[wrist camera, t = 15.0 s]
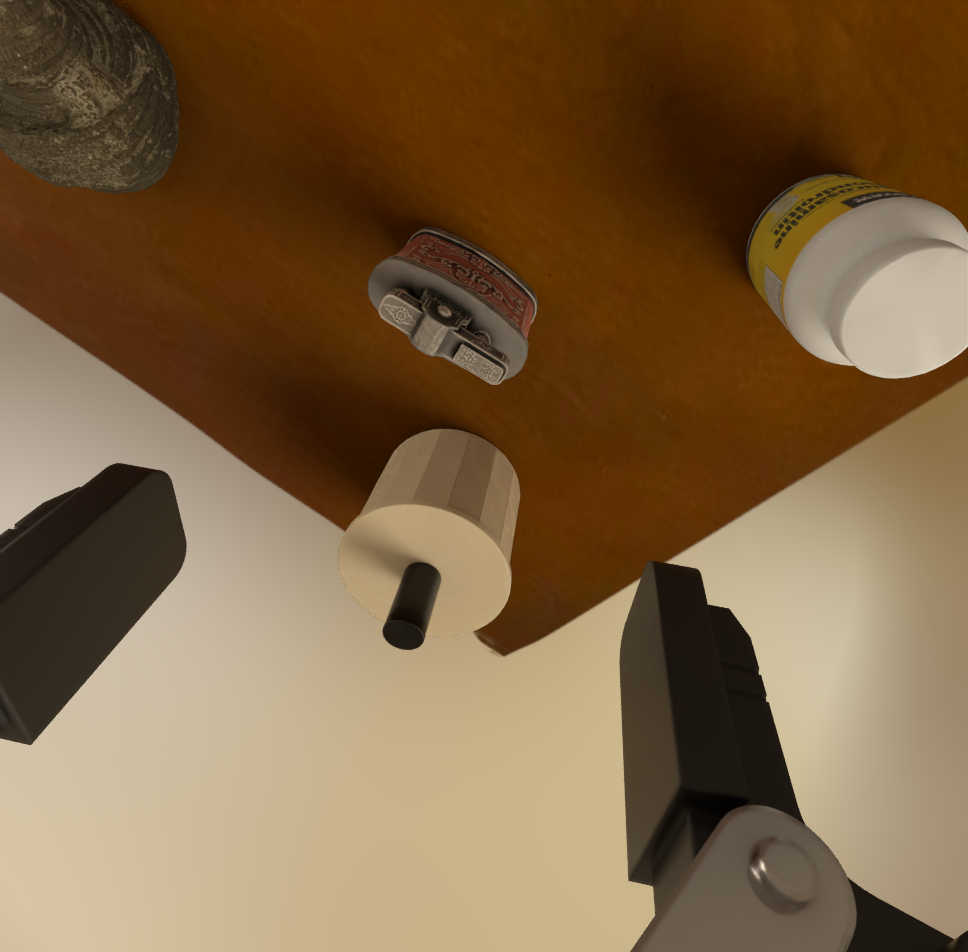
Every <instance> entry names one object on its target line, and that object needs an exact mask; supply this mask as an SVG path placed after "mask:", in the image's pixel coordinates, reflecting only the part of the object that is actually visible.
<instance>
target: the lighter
mask: <svg viewBox="0 0 968 952" xmlns="http://www.w3.org/2000/svg"><path fill="white" fill-rule="evenodd" d="M368 294H369V297H370V300H371V303H372V304H373V305H374V306H375V308H376V309H377V310H378V311H379V314H380V316H381V317H382V318H383V319H384V320H385V321H387V322H388V323H390V324H392V325H393V326H395V327H397V328H398V329H400V330H401V331H402V332H404V333H405V334H407V337H408V338H409V339H410V341H411V343H412V345H413V346H414V347H415V348H416V349H418V350H420V351H421V352H423V353H425V354H427V355H430V356H439V357H443V358H445V359H446V360H448V361H450V362H452V363H454V364H456V365H458V366H460V367H462V368H464V369H466V370H468V371H470V372H471V373H473V374H475V375H476V376H478V377H480V378H481V379H483V380H485V381H486V382H488V383H490V384H492V385H497V384H500V383H501V382H502V381H503V380H505V379H509V378H511V377H513V376H514V375H516V374H517V373H518V372H519V371H520V370H521V369H522V367H523V365H524V363H525V361H526V358H527V352H528V342H527V337H528V332H529V328H530V324H531V323H532V322H533V320H534V318H535V316H536V311H537V304H538V302H537V298H536V295H535V293H534V292H533V290H532V289H531V288H530V287H529V286H528V285H527V284H526V283H525V282H524V281H523V280H521V279H520V278H519V277H518V276H517V275H516V274H515V273H514V272H513V271H512V270H511V269H509V268H508V267H507V266H505V265H504V264H503V263H501V262H500V261H499V260H497V259H496V258H495V257H494V256H492V255H491V254H490V253H488V252H486V251H484V250H483V249H481V248H479V247H477V246H475V245H474V244H472V243H470V242H468V241H466V240H464V239H463V238H460V237H458V236H455V235H453V234H450V233H448V232H445V231H443V230H440V229H438V228H435V227H426V228H422V229H420V230H419V231H418V232H416V233H415V234H414V235H413V236H412V237H411V238H410V240H409V241H408V242H407V245H406V246H405V247H404V248H403V249H402V250H401V251H400V252H399V253H397V254H396V255H395V256H392V257H388V258H386V259H385V260H384V261H382V262H381V263H380V264H378V265H377V266H376V267H375V269H374V270H373V272H372V273H371V275H370V278H369V282H368Z"/></svg>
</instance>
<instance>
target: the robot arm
mask: <svg viewBox="0 0 968 952" xmlns="http://www.w3.org/2000/svg"><path fill="white" fill-rule="evenodd" d="M185 555H186V538H185V534H184V530H183V525H182V521H181V517H180V513H179V509H178V505H177V500H176V496H175V492H174V488H173V484H172V481H171V479H170V477H169V475H168V474H167V473H165V472H163V471H161V470H155V469H149V468H144V467H138V466H133V465H127V464H121V463H116V464H113V465H110V466H109V467H107V468H106V469H104V470H103V471H102V472H101V473H99V474H98V475H97V476H95V477H94V478H93V479H91V480H90V481H89V482H88V483H86V484H85V485H84V486H82V487H78V488H75V489H73V490H71V491H69V492H67V493H64V494H62V495H60V496H58V497H55V498H53V499H51V500H49V501H46V502H44V503H42V504H41V505H40V506H38V507H37V508H36V509H34V510H33V511H32V512H30V513H29V514H28V515H26V516H25V517H24V518H22V519H21V520H20V521H18V522H17V523H16V524H15V527H14V529H8V530H7V531H5V532H4V533H2V534H1V535H0V738H1V739H5V740H10V741H14V742H19V743H23V744H28V745H31V744H32V743H33V742H34V741H35V740H36V739H37V737H38V736H39V735H40V734H41V733H42V732H43V730H44V729H45V728H46V727H47V726H48V724H50V722H51V721H52V720H53V719H54V718H55V717H56V715H57V714H58V713H59V712H60V711H61V710H62V708H63V707H64V706H65V705H66V704H67V703H68V701H69V700H70V699H71V698H72V697H73V696H74V694H75V693H76V692H77V691H78V690H79V689H80V687H81V686H82V685H83V684H84V683H85V682H86V681H87V679H88V678H89V677H90V676H91V675H92V674H93V672H94V671H95V670H96V669H97V668H98V667H99V665H100V664H101V663H102V662H103V661H104V660H105V658H106V657H107V656H108V655H109V654H110V653H111V651H112V650H113V649H114V648H115V647H116V646H117V644H118V643H119V642H120V641H121V640H122V639H123V637H124V636H125V635H126V634H127V633H128V632H129V630H130V629H131V628H132V627H133V626H134V625H135V623H136V622H137V621H138V620H139V619H140V618H141V617H142V615H143V614H144V613H145V612H146V611H147V610H148V608H149V607H150V606H151V605H152V604H153V603H154V601H155V600H156V599H157V598H158V597H159V596H160V595H161V593H162V592H163V591H164V590H165V589H166V587H167V586H168V585H169V584H170V583H171V582H172V581H173V579H174V578H175V577H176V576H177V574H178V573H179V571H180V569H181V567H182V565H183V562H184V559H185ZM758 671H759V666H758V662H757V659H756V656H755V652H754V648H753V645H752V641H751V638H750V636H749V635H748V634H747V632H746V631H745V630H744V628H743V627H742V625H741V624H740V623H739V621H738V620H737V619H736V617H735V616H734V615H733V613H732V612H731V610H730V609H729V608H723V607H718V606H712V605H708V604H707V599H706V594H705V590H704V585H703V581H702V577H701V573H700V571H699V570H698V569H695V568H690V567H685V566H679V565H674V564H668V563H662V562H657V561H651V560H650V561H648V563H647V564H646V566H645V568H644V571H643V574H642V577H641V580H640V583H639V585H638V588H637V591H636V594H635V597H634V600H633V603H632V606H631V609H630V612H629V615H628V618H627V620H626V623H625V626H624V631H623V635H622V640H621V648H620V686H621V710H622V734H623V760H624V782H625V807H626V832H627V855H628V856H627V857H628V879H629V881H632V882H637V883H641V884H646V885H650V886H653V890H654V904H655V917H654V918H653V920H652V921H651V922H650V924H649V925H648V927H647V928H646V930H645V931H644V933H643V934H642V935H641V937H640V939H639V940H638V941H637V943H636V944H635V946H634V947H633V949H632V950H631V951H630V952H968V931H966V932H965V933H963V934H962V935H960V936H959V937H958V938H956V939H955V940H954V939H952V938H951V937H949V936H947V935H945V934H943V933H941V932H940V931H938V930H936V929H934V928H932V927H930V926H928V925H927V924H925V923H923V922H921V921H919V920H917V919H916V918H914V917H912V916H910V915H908V914H906V913H904V912H903V911H901V910H899V909H897V908H895V907H893V906H892V905H889V904H888V903H886V902H884V901H882V900H880V899H878V898H877V897H875V896H873V895H872V894H870V893H868V892H867V891H865V890H864V889H862V888H861V887H859V886H858V885H857V884H856V883H854V882H853V881H852V880H850V879H849V878H848V877H847V875H846V873H845V871H844V870H843V868H842V866H841V864H840V863H839V861H838V859H837V858H836V857H835V855H834V854H833V853H832V851H831V850H830V849H829V847H828V846H827V845H826V844H825V843H824V842H823V841H822V840H821V839H820V838H819V837H818V836H817V835H816V834H815V833H814V832H813V831H812V830H811V829H810V828H808V827H807V826H806V825H805V823H804V821H803V819H802V816H801V814H800V811H799V808H798V805H797V801H796V798H795V794H794V790H793V787H792V783H791V780H790V776H789V773H788V769H787V766H786V762H785V758H784V755H783V751H782V748H781V744H780V741H779V737H778V734H777V730H776V726H775V724H774V719H773V716H772V712H771V709H770V705H769V702H766V695H767V694H766V691H765V687H764V684H763V680H762V677H761V675H759V672H758Z"/></svg>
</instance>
